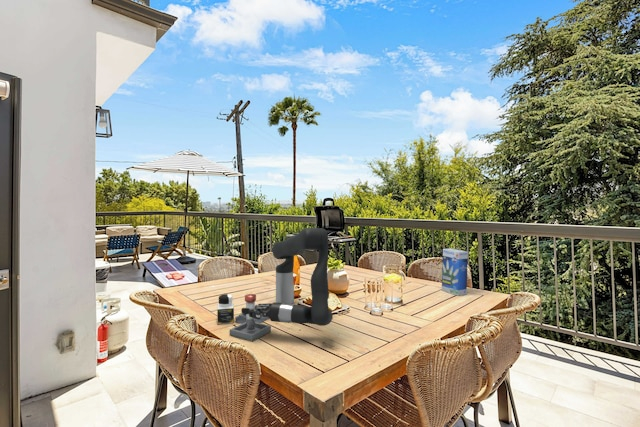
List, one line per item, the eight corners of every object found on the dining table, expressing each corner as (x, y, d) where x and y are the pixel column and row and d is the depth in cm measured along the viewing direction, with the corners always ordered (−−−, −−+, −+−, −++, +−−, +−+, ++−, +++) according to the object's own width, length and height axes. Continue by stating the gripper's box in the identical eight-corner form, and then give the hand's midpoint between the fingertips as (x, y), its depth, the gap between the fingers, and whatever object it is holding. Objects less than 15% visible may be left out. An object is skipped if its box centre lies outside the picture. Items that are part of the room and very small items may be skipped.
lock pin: (250, 325, 148) (249, 293, 147) (258, 327, 146) (258, 294, 145) (242, 329, 144) (242, 296, 143) (251, 331, 142) (251, 297, 141)
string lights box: (441, 290, 214) (442, 248, 213) (450, 289, 217) (451, 248, 216) (457, 296, 202) (459, 252, 201) (467, 294, 205) (468, 251, 204)
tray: (249, 326, 153) (249, 320, 153) (270, 331, 147) (270, 325, 147) (229, 335, 143) (229, 329, 143) (252, 341, 137) (252, 335, 137)
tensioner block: (254, 313, 169) (254, 304, 169) (270, 317, 164) (270, 307, 164) (235, 322, 158) (235, 311, 158) (252, 326, 153) (252, 315, 153)
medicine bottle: (217, 324, 155) (217, 297, 154) (217, 319, 162) (217, 293, 161) (233, 323, 157) (233, 296, 156) (233, 317, 164) (233, 292, 163)
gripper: (288, 298, 148) (251, 295, 152) (276, 308, 134) (235, 305, 138) (288, 316, 148) (251, 312, 152) (276, 328, 134) (236, 323, 139)
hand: (244, 309), depth 145 cm, fingers closed on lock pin, 3 cm apart
